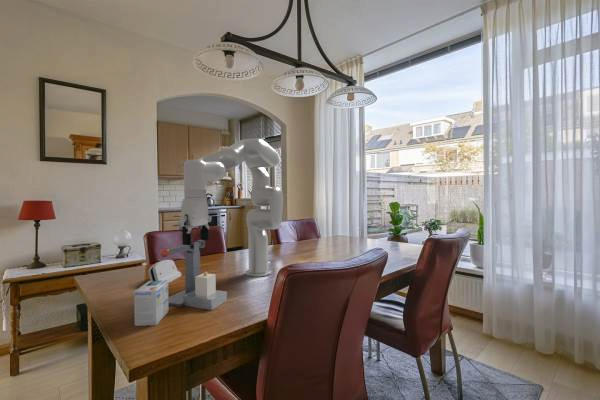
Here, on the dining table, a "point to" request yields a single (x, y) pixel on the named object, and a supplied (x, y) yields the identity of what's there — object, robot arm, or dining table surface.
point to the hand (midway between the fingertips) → (196, 242)
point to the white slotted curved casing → (164, 271)
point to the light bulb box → (151, 303)
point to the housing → (205, 284)
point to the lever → (180, 249)
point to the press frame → (188, 294)
